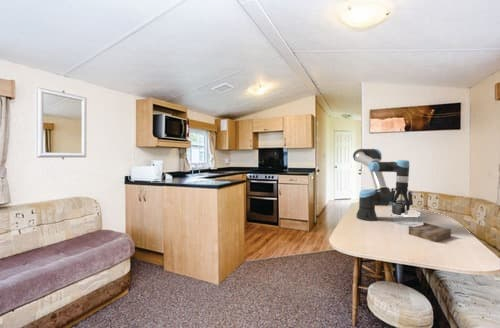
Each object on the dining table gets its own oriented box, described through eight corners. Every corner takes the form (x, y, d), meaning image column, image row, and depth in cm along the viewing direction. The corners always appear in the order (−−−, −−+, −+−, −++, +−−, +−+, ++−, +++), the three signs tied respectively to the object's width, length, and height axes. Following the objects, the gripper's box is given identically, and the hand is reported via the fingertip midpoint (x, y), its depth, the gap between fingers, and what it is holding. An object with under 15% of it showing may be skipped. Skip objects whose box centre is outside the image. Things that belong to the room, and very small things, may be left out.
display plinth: (408, 234, 165) (408, 225, 165) (423, 230, 174) (424, 222, 173) (435, 242, 151) (435, 233, 151) (450, 237, 159) (451, 229, 159)
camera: (407, 216, 171) (408, 202, 170) (390, 214, 177) (391, 200, 176) (409, 212, 181) (410, 199, 180) (393, 210, 187) (394, 197, 186)
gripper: (385, 180, 184) (383, 210, 186) (414, 184, 166) (412, 217, 168) (391, 179, 188) (389, 208, 190) (420, 183, 169) (418, 215, 171)
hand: (400, 212), depth 179 cm, fingers closed on camera, 8 cm apart
